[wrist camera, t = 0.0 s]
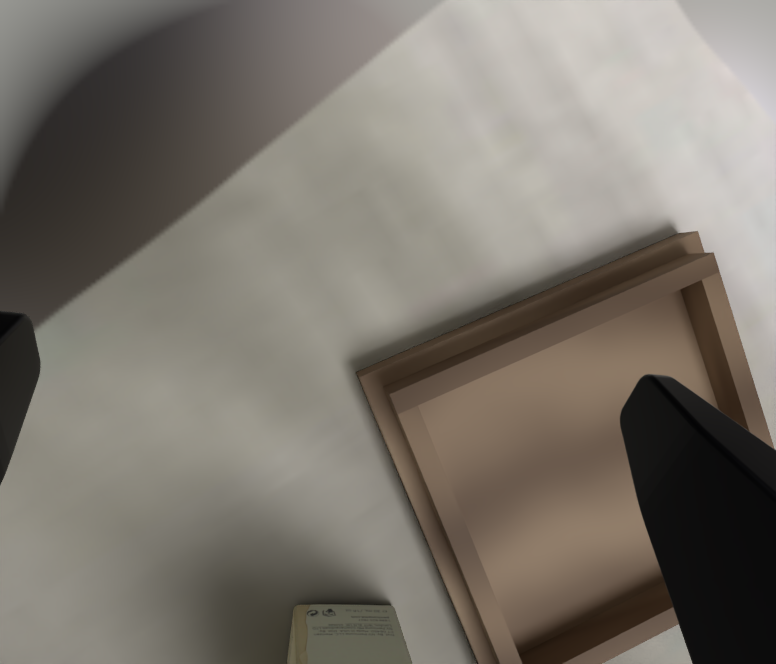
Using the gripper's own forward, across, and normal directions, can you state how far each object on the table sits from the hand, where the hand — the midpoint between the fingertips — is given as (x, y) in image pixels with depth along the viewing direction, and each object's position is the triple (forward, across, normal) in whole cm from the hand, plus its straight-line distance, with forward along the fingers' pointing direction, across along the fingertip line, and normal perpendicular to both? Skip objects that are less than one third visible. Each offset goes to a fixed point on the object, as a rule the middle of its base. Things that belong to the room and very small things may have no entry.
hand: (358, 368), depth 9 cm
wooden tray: (+10, -12, +12) cm, 20 cm away
